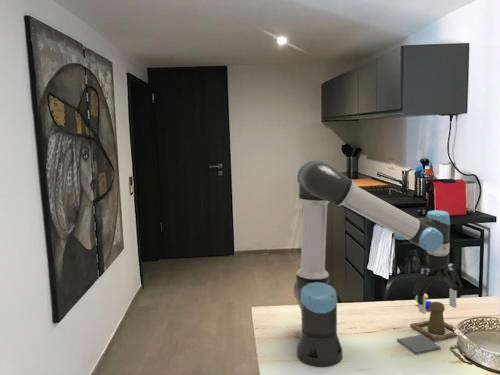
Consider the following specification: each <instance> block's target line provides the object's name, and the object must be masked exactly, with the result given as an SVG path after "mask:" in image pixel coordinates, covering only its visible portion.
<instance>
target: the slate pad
mask: <svg viewBox="0 0 500 375" xmlns="http://www.w3.org/2000/svg"><path fill="white" fill-rule="evenodd" d="M396 339H397V342H398V343H399V344H400V345H401V346H403V347H404V348H406V349H407V350H409V351H410V352H411V353H413V354H414V355H420V354H425V353H430V352H434V351H440V350H442V349H441V346H439V345H438V344H437V343H435V342H433V341H431V340H430V339H428V338H427V337H425V336H424V335H422V334H417V335H412V336H407V337H403V338H402V337H401V338H396Z"/></svg>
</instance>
